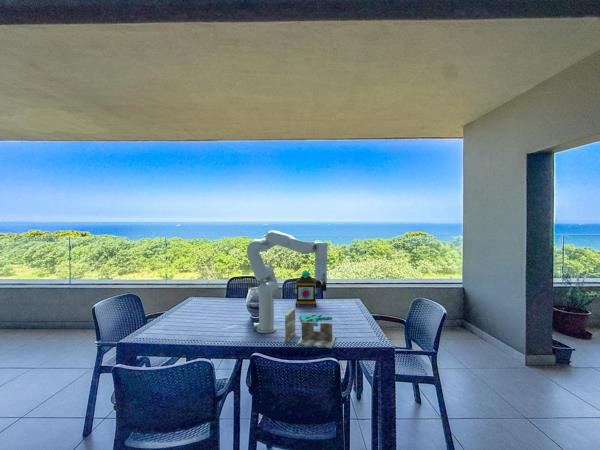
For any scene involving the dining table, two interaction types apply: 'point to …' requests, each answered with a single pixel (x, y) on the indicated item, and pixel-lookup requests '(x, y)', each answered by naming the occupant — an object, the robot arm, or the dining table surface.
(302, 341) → the cross base
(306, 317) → the alien figure
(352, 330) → the dining table surface
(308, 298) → the decorative lantern
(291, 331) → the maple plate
